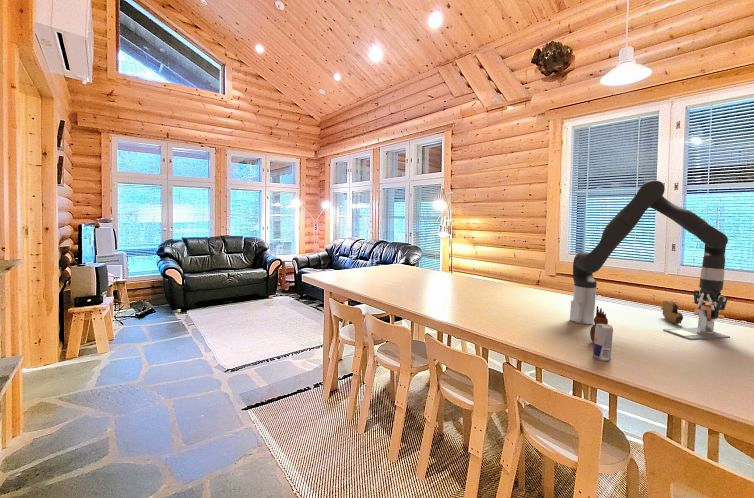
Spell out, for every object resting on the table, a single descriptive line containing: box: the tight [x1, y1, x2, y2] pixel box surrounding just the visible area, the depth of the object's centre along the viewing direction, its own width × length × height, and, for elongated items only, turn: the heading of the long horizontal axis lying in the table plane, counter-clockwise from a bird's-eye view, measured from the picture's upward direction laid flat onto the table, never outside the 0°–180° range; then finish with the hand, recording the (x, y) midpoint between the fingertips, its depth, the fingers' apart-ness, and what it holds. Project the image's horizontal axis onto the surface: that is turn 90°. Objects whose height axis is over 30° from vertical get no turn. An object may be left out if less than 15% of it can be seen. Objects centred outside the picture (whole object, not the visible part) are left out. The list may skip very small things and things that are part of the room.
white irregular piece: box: [694, 308, 722, 334], centre depth 160 cm, size 11×5×10 cm, turn 99°
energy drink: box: [592, 324, 614, 362], centre depth 131 cm, size 5×5×12 cm
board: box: [662, 327, 731, 341], centre depth 160 cm, size 20×12×1 cm, turn 99°
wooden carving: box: [660, 300, 684, 324], centre depth 177 cm, size 16×5×10 cm, turn 168°
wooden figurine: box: [589, 305, 609, 344], centre depth 145 cm, size 7×6×15 cm
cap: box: [693, 304, 725, 320], centre depth 159 cm, size 10×5×5 cm, turn 51°
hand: (707, 316), depth 159 cm, fingers closed on cap, 5 cm apart
